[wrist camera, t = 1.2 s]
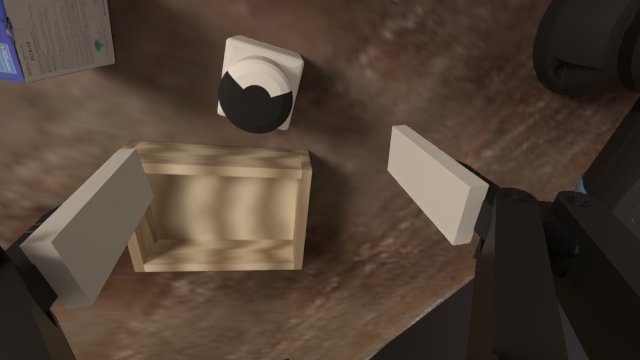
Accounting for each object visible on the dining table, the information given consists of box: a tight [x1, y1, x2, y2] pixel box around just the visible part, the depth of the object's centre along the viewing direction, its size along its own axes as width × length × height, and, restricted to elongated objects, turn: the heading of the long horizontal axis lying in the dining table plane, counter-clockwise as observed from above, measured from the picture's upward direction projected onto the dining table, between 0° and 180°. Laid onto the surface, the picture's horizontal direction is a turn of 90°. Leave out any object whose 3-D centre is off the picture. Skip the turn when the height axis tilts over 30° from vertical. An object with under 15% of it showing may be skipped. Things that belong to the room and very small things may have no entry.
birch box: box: [105, 141, 312, 272], centre depth 38 cm, size 22×16×6 cm
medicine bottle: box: [218, 35, 304, 134], centre depth 28 cm, size 7×7×12 cm
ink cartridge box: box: [0, 0, 115, 83], centre depth 22 cm, size 10×6×14 cm, turn 169°
